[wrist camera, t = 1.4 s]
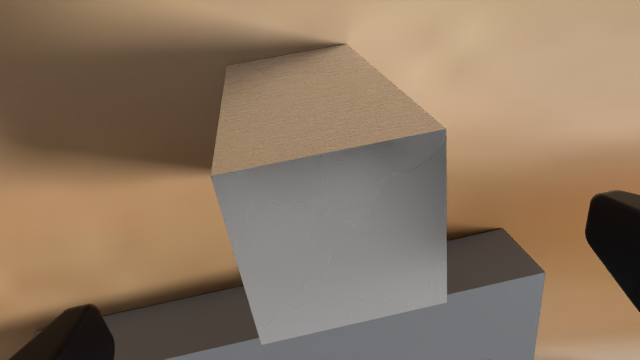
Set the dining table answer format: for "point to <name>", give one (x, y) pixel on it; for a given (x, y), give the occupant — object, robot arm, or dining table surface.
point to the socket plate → (365, 337)
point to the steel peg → (329, 192)
